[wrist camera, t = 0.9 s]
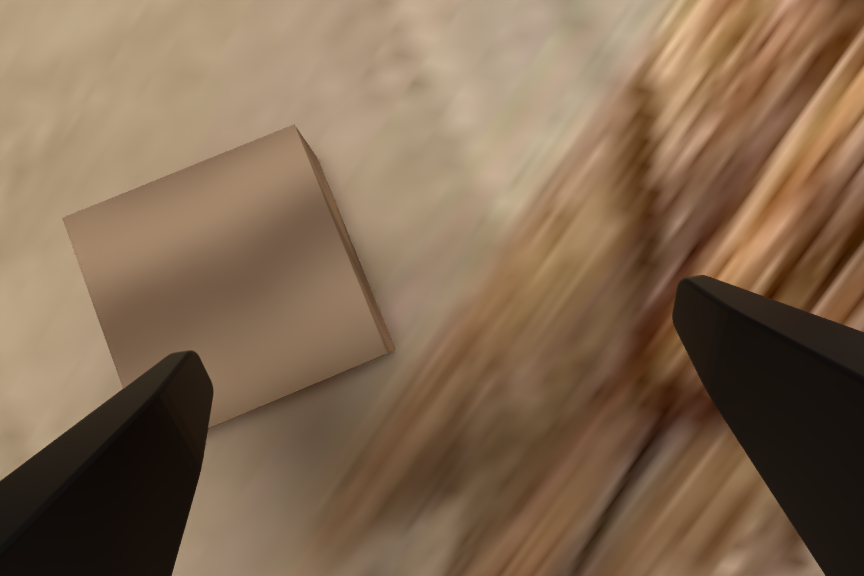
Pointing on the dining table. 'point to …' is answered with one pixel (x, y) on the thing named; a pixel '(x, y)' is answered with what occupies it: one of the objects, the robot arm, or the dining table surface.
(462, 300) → the dining table surface
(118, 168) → the dining table surface
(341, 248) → the stand
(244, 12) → the dining table surface
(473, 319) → the dining table surface
